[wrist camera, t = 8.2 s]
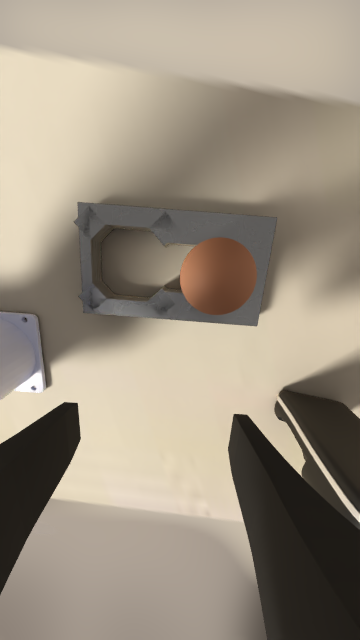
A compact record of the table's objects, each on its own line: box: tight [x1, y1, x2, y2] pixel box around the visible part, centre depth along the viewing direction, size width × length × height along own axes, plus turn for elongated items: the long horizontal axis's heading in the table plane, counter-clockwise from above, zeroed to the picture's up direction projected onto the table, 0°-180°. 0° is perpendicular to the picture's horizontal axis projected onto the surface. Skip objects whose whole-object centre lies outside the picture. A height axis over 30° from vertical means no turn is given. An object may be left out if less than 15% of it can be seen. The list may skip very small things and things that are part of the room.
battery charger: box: [275, 391, 360, 530], centre depth 16 cm, size 7×4×11 cm, turn 77°
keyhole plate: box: [74, 202, 277, 326], centre depth 17 cm, size 14×8×2 cm, turn 86°
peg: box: [180, 237, 257, 315], centre depth 15 cm, size 4×4×6 cm
